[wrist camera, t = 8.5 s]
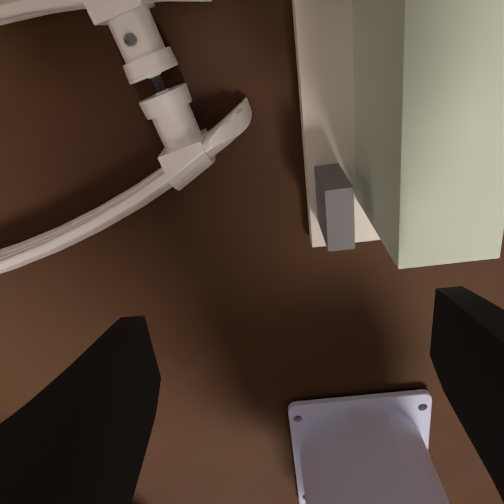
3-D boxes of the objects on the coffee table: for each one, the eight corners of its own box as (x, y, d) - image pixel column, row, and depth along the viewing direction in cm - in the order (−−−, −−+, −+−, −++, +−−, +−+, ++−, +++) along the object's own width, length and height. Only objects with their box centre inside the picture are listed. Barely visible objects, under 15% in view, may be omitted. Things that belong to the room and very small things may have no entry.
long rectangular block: (428, 190, 19) (499, 258, 13) (356, 199, 19) (398, 269, 14) (445, -108, 14) (563, -185, 9) (350, -93, 14) (409, -160, 9)
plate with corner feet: (462, 220, 20) (507, 261, 17) (309, 237, 21) (321, 282, 17) (502, -188, 14) (587, -258, 10) (280, -151, 14) (290, -207, 11)
